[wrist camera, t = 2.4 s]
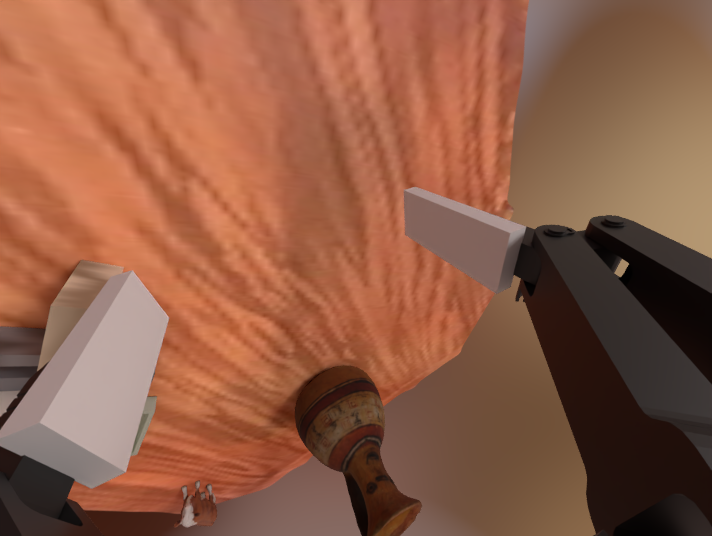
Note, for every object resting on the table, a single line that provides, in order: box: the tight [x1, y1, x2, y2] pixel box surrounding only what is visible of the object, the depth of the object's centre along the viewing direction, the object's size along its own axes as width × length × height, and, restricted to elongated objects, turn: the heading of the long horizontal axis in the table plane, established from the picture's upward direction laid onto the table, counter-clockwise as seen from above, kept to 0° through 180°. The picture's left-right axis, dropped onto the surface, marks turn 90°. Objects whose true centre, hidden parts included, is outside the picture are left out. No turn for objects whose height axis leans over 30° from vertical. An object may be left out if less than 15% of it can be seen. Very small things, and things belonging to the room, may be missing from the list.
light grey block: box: [0, 391, 20, 417], centre depth 27 cm, size 5×5×4 cm
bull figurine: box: [174, 481, 217, 527], centre depth 57 cm, size 4×13×8 cm, turn 6°
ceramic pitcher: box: [295, 366, 422, 536], centre depth 53 cm, size 20×20×30 cm
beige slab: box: [0, 260, 124, 371], centre depth 27 cm, size 13×12×8 cm
